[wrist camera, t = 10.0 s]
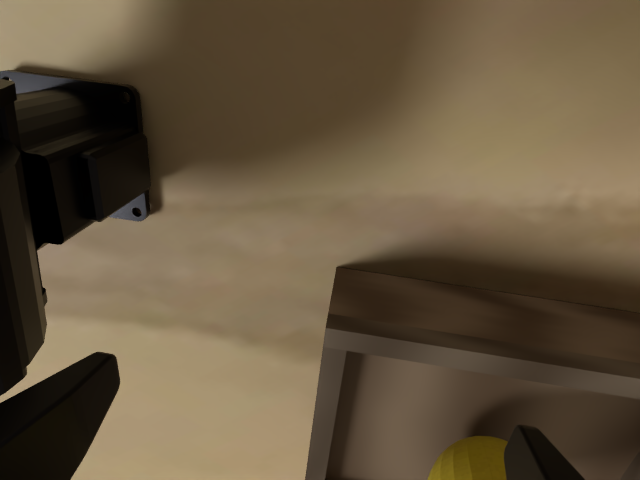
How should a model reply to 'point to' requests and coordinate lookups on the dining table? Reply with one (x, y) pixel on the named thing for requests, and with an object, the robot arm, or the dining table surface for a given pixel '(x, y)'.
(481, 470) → the lemon
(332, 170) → the dining table surface
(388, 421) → the wooden tray
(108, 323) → the dining table surface
